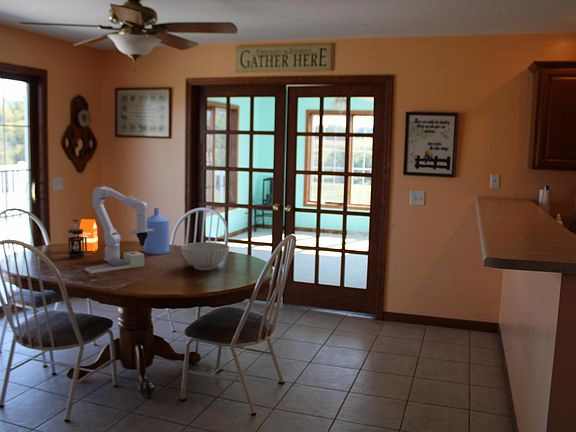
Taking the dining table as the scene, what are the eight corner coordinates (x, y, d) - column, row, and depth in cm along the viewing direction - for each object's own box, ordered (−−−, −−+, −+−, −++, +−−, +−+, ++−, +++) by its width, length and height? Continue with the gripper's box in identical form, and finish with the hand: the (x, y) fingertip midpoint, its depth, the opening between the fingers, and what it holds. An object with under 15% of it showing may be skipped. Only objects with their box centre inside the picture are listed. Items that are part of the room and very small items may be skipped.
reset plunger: (129, 259, 320) (129, 252, 319) (135, 258, 322) (135, 252, 322) (132, 260, 317) (132, 253, 317) (138, 260, 320) (138, 253, 319)
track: (84, 270, 307) (84, 257, 306) (136, 262, 327) (136, 251, 326) (91, 273, 300) (90, 260, 299) (144, 266, 319) (144, 254, 318)
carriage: (108, 263, 314) (108, 252, 313) (118, 261, 318) (118, 251, 317) (113, 265, 309) (113, 254, 308) (123, 264, 313) (123, 253, 312)
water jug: (174, 251, 360) (174, 208, 356) (156, 255, 347) (156, 210, 343) (157, 248, 368) (156, 206, 364) (138, 252, 355) (138, 208, 351)
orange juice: (93, 252, 354) (92, 220, 351) (79, 251, 354) (78, 220, 351) (97, 249, 361) (97, 218, 359) (84, 249, 362) (83, 218, 359)
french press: (72, 260, 330) (70, 221, 327) (64, 257, 336) (62, 219, 333) (90, 257, 339) (89, 219, 335) (82, 254, 345) (81, 217, 341)
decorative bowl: (221, 274, 304) (221, 252, 302) (174, 271, 309) (173, 249, 307) (234, 263, 330) (234, 243, 328) (190, 261, 335) (190, 241, 333)
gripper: (132, 224, 318) (133, 248, 320) (156, 222, 327) (156, 245, 329) (127, 222, 323) (128, 246, 325) (150, 220, 332) (151, 243, 334)
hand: (142, 245), depth 327 cm, fingers closed
